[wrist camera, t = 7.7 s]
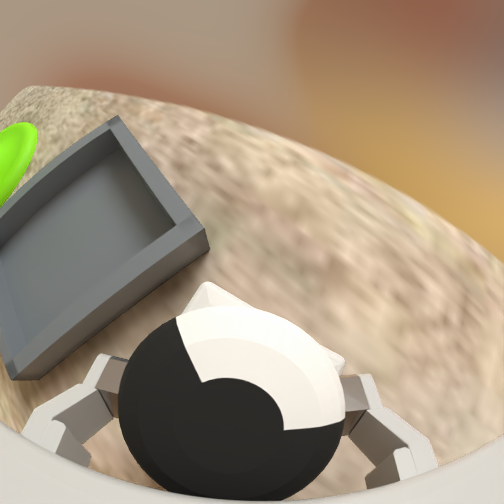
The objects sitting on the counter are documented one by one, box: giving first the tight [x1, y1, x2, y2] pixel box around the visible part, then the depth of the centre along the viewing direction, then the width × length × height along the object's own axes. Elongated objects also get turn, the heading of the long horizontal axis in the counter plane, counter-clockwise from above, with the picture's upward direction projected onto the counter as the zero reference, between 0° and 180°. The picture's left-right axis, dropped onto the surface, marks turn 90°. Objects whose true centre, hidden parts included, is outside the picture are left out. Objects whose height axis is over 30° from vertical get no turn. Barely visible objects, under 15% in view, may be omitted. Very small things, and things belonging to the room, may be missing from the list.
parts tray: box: [0, 115, 210, 380], centre depth 17 cm, size 18×14×4 cm
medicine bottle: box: [118, 282, 345, 501], centre depth 11 cm, size 7×7×12 cm
